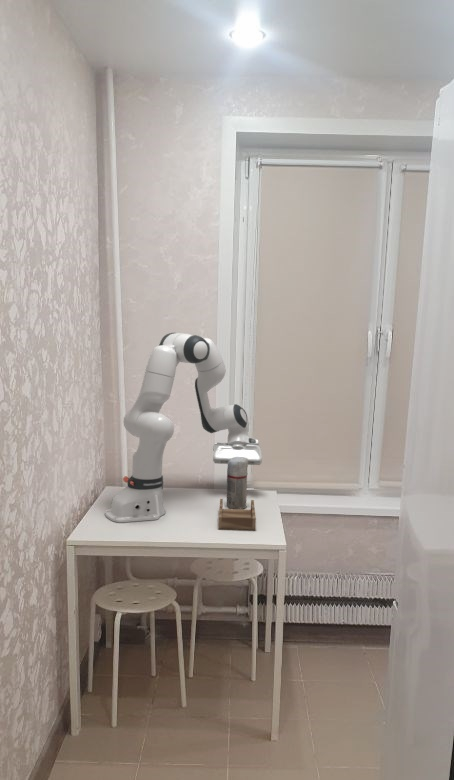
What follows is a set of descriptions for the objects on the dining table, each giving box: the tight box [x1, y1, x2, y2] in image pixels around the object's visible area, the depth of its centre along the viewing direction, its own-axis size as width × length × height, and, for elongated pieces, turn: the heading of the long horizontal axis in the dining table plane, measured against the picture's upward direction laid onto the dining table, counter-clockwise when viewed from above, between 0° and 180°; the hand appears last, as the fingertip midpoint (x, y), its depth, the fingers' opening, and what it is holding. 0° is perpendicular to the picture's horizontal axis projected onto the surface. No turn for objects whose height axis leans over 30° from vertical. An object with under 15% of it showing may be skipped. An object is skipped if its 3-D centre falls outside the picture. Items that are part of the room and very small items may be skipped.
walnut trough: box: [217, 498, 257, 532], centre depth 223 cm, size 22×13×4 cm, turn 179°
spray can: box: [226, 456, 249, 509], centre depth 238 cm, size 8×8×20 cm
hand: (237, 472), depth 245 cm, fingers closed
